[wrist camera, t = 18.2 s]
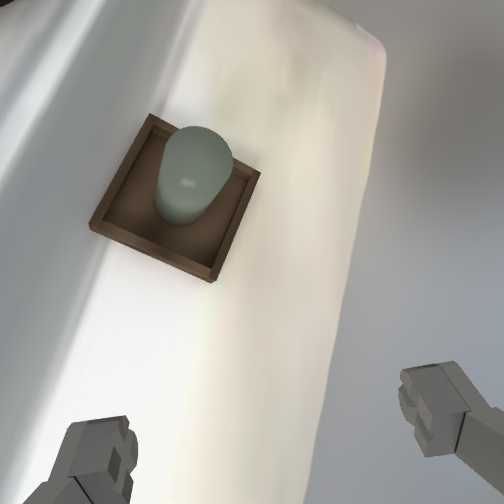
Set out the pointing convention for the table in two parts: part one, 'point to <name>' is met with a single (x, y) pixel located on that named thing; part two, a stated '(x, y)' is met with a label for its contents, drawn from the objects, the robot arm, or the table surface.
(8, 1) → the dish
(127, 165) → the walnut tray
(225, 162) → the sage ceramic canister
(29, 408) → the table surface
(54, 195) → the table surface
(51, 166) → the table surface
